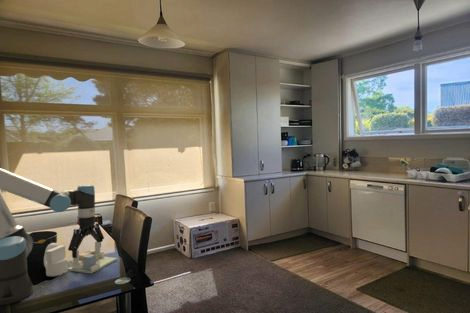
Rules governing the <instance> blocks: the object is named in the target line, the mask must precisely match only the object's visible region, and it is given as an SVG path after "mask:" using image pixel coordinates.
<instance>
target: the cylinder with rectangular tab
mask: <svg viewBox="0 0 470 313" xmlns="http://www.w3.org/2000/svg"><path fill="white" fill-rule="evenodd" d="M45 251H46V250H45ZM67 272H68V258H67V256H66V246H65V245H63V244H62V245H61V244H60V245H59V246H57V247H55V248H52V249H50V250H47V251H46V268H45V274H46V276H47V277H57V276H61V275H64V274H66V273H67ZM63 273H64V274H63Z"/></svg>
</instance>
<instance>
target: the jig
mask: <svg viewBox="0 0 470 313" xmlns="http://www.w3.org/2000/svg"><path fill="white" fill-rule="evenodd" d="M117 261H118V257H109V256H105V251H101V250H100V255H99V259H97V260H96V264H95V265H93V266H91V270H88V269H84V266H83V263H82V262H80V261H79V264H78V265H77V264H73V261H71V266H70V267H67V272H77V273H85V274H93V272H94V273H95V272H97V271H99V270H101V269H103V268H105V267H107V266H108V265H110V264H113V263H114V262H117Z"/></svg>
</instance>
